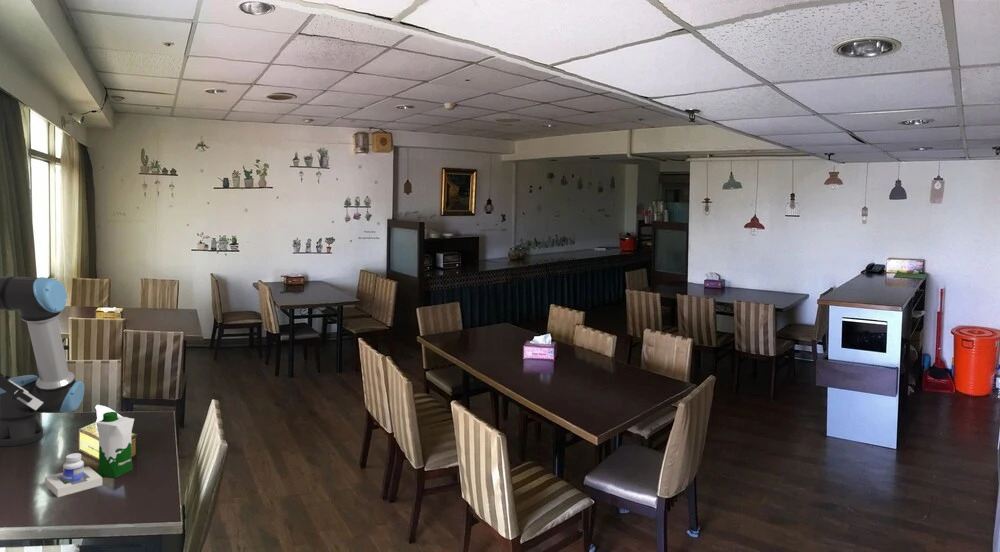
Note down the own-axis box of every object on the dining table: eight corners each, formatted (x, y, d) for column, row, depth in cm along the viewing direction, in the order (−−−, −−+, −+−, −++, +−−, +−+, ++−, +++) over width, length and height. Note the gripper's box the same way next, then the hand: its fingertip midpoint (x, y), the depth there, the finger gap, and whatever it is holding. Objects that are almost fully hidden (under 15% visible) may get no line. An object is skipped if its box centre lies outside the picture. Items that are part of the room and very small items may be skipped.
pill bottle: (58, 486, 191) (58, 456, 190) (76, 479, 196) (76, 450, 195) (70, 490, 189) (70, 460, 188) (87, 483, 194) (87, 454, 193)
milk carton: (114, 465, 208) (115, 408, 206) (137, 469, 206) (137, 412, 204) (92, 475, 200) (93, 416, 198) (116, 479, 198) (116, 420, 196)
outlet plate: (44, 484, 191) (44, 476, 191) (88, 473, 201) (88, 465, 201) (57, 497, 184) (57, 488, 184) (102, 485, 194) (102, 477, 193)
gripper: (-58, 360, 174) (8, 401, 187) (-36, 379, 158) (34, 422, 172) (-34, 340, 177) (29, 381, 191) (-11, 356, 162) (56, 400, 175)
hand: (32, 400), depth 181 cm, fingers open, 13 cm apart
